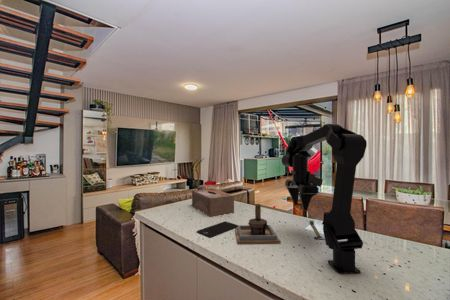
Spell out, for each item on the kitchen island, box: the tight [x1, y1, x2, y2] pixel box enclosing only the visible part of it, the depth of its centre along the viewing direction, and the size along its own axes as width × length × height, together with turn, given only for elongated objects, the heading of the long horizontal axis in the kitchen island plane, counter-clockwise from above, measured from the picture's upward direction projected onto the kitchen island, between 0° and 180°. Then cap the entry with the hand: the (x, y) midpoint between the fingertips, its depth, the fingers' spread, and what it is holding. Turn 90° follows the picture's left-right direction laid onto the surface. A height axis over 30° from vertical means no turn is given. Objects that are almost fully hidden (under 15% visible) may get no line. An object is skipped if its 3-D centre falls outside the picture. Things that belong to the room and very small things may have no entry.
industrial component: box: [247, 203, 269, 235], centre depth 89 cm, size 9×7×12 cm
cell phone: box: [196, 220, 238, 239], centre depth 97 cm, size 9×18×1 cm, turn 136°
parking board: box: [234, 228, 282, 245], centre depth 89 cm, size 14×16×1 cm
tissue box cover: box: [191, 187, 235, 218], centre depth 129 cm, size 26×14×10 cm, turn 30°
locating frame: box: [236, 224, 278, 240], centre depth 89 cm, size 12×14×2 cm
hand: (300, 207), depth 87 cm, fingers open, 9 cm apart
